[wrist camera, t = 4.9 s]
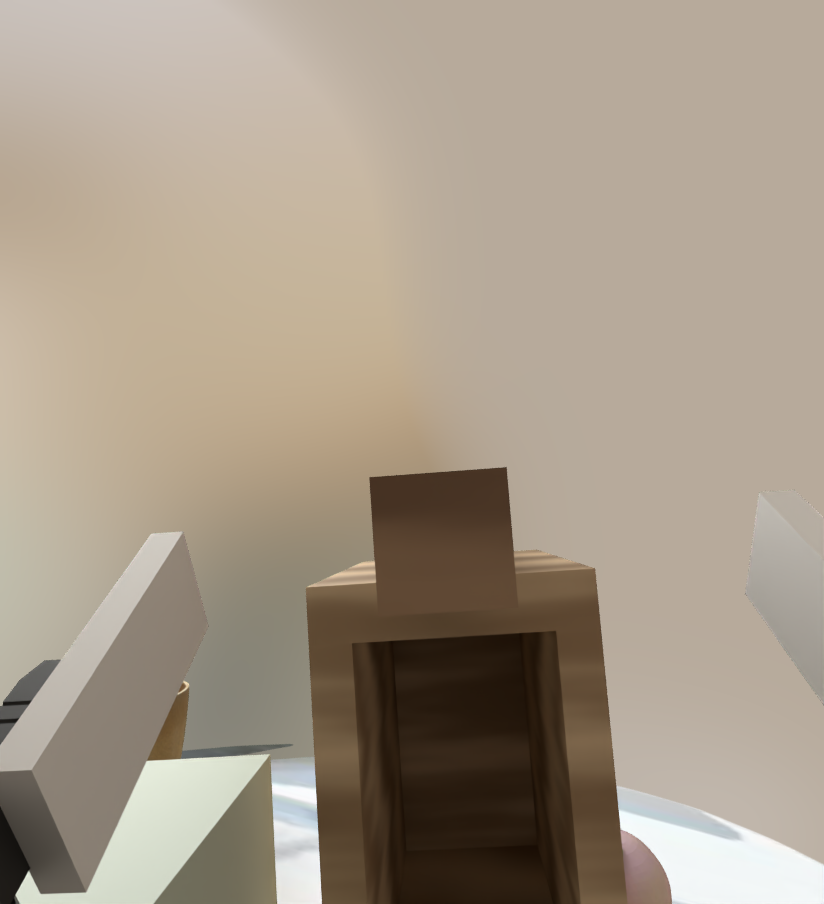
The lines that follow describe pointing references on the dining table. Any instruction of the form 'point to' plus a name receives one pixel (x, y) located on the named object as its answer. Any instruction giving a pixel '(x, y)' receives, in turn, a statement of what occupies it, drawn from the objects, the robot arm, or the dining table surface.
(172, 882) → the sage green rectangular block
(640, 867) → the decorative fruit
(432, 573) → the wooden square beam
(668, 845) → the dining table surface
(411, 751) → the brown wooden tall box
